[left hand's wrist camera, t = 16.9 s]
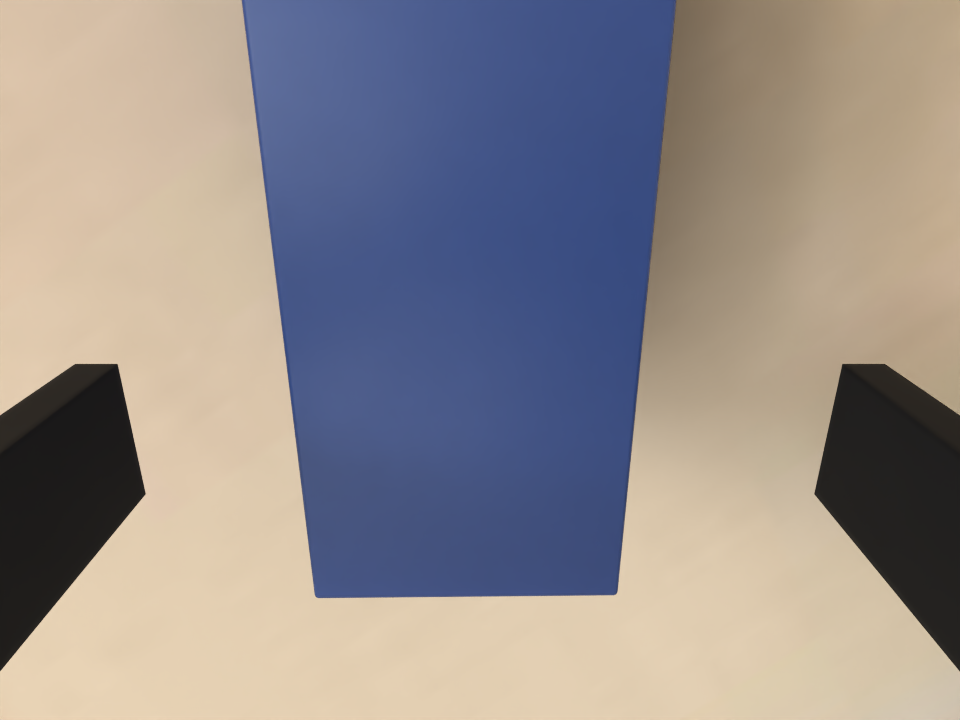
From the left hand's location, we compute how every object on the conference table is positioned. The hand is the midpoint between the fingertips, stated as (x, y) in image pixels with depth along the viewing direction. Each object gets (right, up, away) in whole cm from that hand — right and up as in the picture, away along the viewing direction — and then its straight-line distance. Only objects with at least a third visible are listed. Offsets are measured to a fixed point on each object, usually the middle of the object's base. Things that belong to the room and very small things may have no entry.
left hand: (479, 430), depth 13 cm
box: (0, +12, +7) cm, 14 cm away
